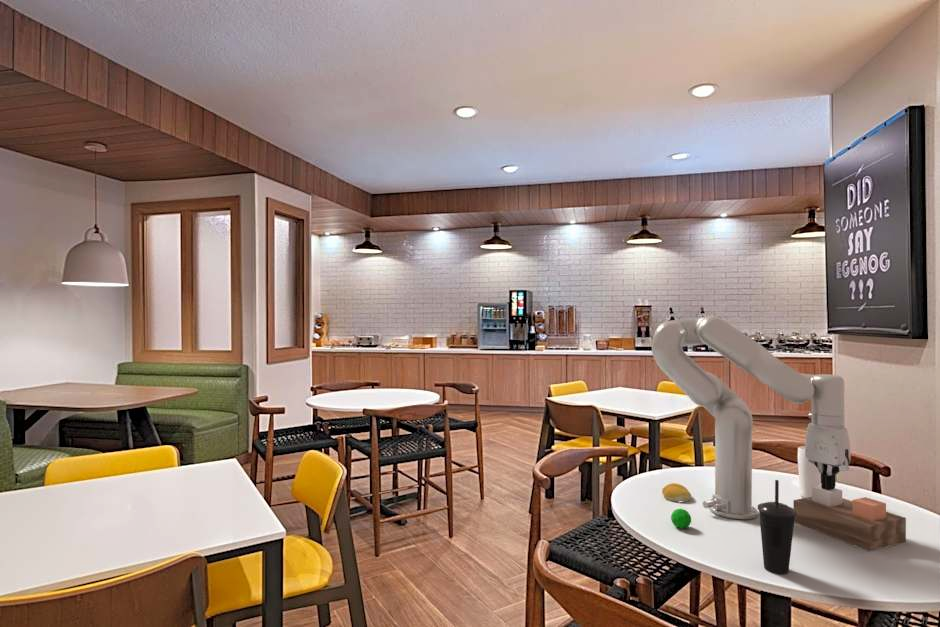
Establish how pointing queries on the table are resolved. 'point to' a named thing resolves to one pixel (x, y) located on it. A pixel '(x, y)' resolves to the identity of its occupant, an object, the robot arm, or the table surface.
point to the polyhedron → (681, 518)
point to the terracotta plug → (869, 509)
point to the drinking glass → (807, 474)
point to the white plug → (827, 496)
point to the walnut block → (850, 524)
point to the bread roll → (676, 492)
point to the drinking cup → (776, 533)
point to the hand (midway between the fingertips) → (828, 488)
